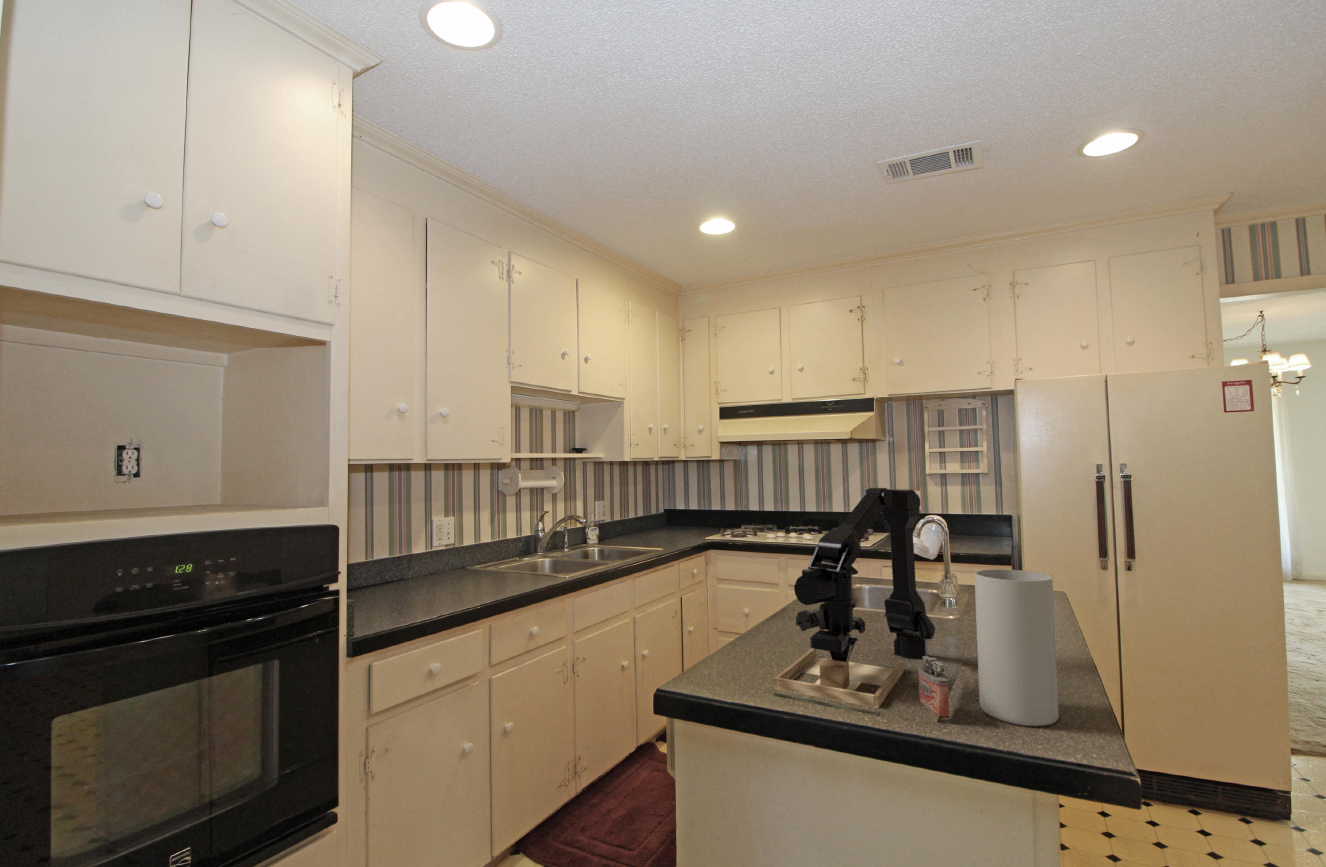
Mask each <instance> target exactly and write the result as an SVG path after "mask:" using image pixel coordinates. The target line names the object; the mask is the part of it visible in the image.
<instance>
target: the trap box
mask: <svg viewBox="0 0 1326 867" xmlns="http://www.w3.org/2000/svg"><path fill="white" fill-rule="evenodd" d="M826 659H828V658H826V657H820V656H817V649H812V648H809V650H807V651H806V652H805V653H804V654H803V655H801V656H800V657H798V658H797V660H795V661H794V662H792V663H791V664H790V665H789V666H788V667H786V668H785V669H783V671H781V672H779V673H778V674H777V675H776V676H774V678H773V689H774V690H778V691H779V690H780V691H784V692H790V693H794V694H798V695H799V694H800V695H807V696H811V697H817V698H822V699H827V700H831V701H838V702H842V703H843V702H844V703H846V704H847V703H848V704H853V705H859V706H864V707H868V708H873V709H874V708H875V709H879V708H880V707H881V704H883V702H884V701H885V699H886V698H887V696H888V695H889V693H890V692H891V691H892V689H893V688H894V686H895V685H896V683H897V682H898V680H899V679H900V678H901V677H902V675H903V673H904V672H905V661H904V660H899V661H898V663H897V664H896V665H895V667H893V668H892V667H891V668H890V667H885V666H877V665H873V664H865V663H860V662H859V663H857V662H854V661H853V662H851V661H848V662H849V686H848V687H847V688H846V689H840V688H835V687H829V686H823V685H820V678H818V680H816V681H815V682H814V683H811V682H806V681H800V680H795V679H797V678H798V676H800V675H801V674H802V673H803V674H808V675H813V676H819V677H820V664H821V663H822V662H824V661H825V660H826ZM830 659H831V660H832V658H830ZM861 684H866V685H867V684H868V685H872V686H878V687H879V688H877V690H876V691H875V693H874V694H873V693H867V692H861V691H856V690H857V688H859V687H860V686H861ZM773 696H774V697H776V698H782V699H786V698H788V699H787V700H791V699H792V700H793V701H796V700H797V701H798V702H801V701H802V703H807V702H808V703H807V704H812V705H817V706H822V705H823V707H827V708H832V707H834V708H833V709H837V708H838V709H837V710H842V709H844V711H848V710H851V711H850V712H853V711H856V712H855V713H858V712H862V713H861V714H863V713H867V714H866V715H868V714H873V715H876V716H875V717H880V715H881V712H878V711H877V712H876V711H871V710H868V709H867V710H866V709H861V708H857V707H856V708H855V707H851V706H847V705H846V706H845V705H840V704H834V703H830V702H827V701H826V702H825V701H819V700H814V699H809V698H804V697H799V696H794V695H790V694H784V693H777V692H774V693H773ZM797 701H796V702H797ZM845 709H846V710H845ZM879 714H880V715H879ZM873 715H872V716H873Z"/></svg>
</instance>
